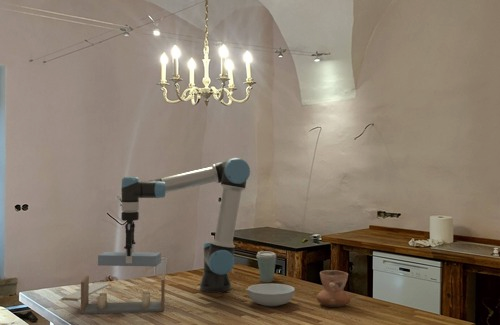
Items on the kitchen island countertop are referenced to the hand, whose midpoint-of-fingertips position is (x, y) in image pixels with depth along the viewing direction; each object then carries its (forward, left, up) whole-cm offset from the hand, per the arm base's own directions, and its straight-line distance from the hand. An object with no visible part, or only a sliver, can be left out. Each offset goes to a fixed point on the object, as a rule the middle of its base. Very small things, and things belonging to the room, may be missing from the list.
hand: (129, 261), depth 231 cm
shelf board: (0, 0, -1) cm, 1 cm away
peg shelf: (+1, +14, -17) cm, 22 cm away
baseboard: (+22, -18, -18) cm, 34 cm away
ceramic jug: (-89, +19, -18) cm, 93 cm away
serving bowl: (-62, +14, -18) cm, 66 cm away
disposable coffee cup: (-68, -30, -18) cm, 76 cm away
